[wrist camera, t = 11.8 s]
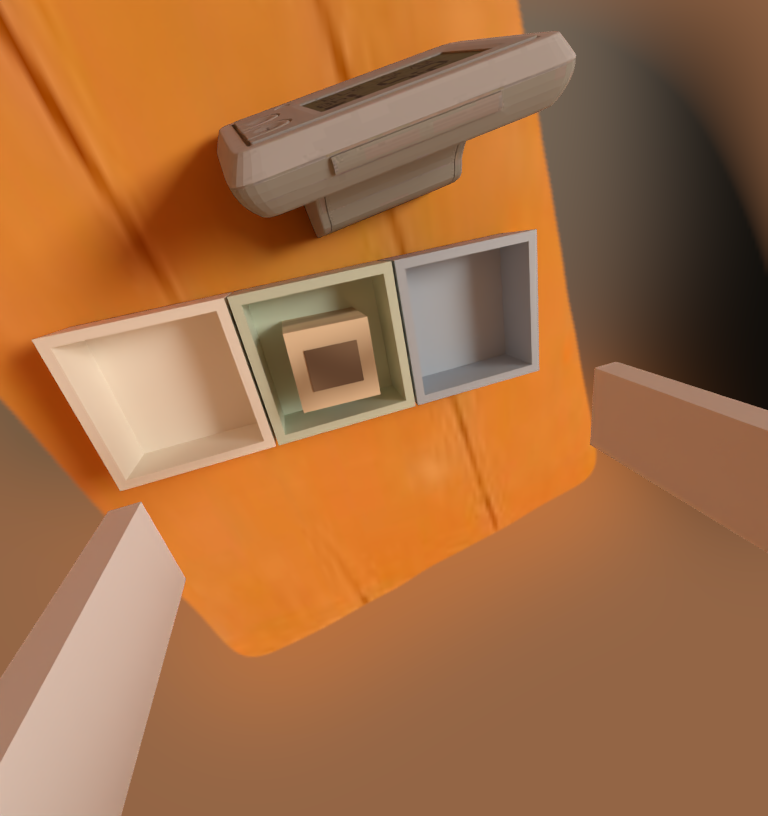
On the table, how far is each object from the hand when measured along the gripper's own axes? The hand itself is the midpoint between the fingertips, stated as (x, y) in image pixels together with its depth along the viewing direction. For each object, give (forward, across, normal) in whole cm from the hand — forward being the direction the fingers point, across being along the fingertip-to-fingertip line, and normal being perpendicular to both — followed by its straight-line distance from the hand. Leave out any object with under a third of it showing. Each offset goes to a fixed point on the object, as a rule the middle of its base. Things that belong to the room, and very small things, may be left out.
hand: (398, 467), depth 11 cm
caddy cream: (+19, -10, -1) cm, 21 cm away
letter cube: (+18, 0, -1) cm, 18 cm away
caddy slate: (+19, +10, -1) cm, 21 cm away
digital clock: (+19, +5, +11) cm, 23 cm away
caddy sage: (+19, 0, -1) cm, 19 cm away
